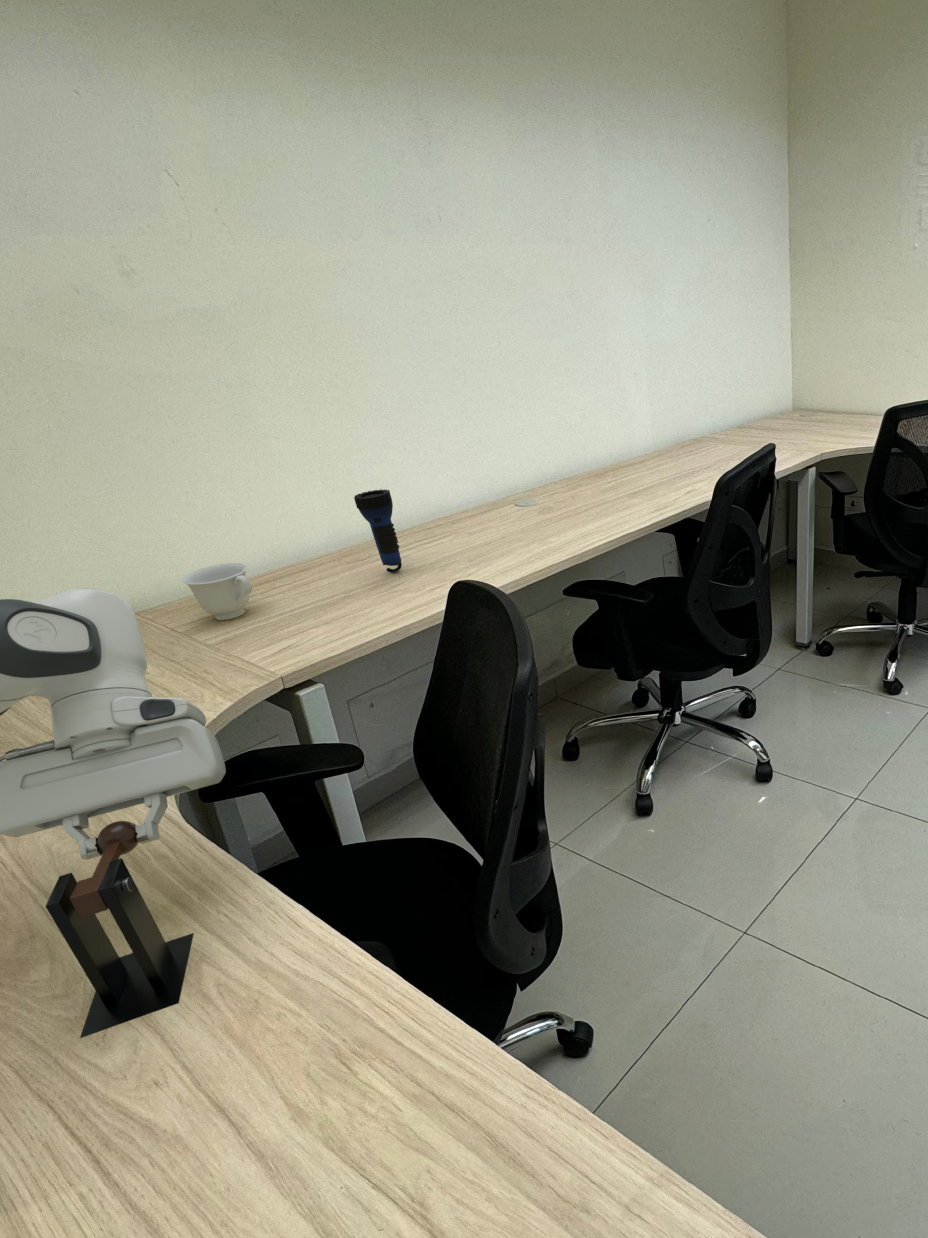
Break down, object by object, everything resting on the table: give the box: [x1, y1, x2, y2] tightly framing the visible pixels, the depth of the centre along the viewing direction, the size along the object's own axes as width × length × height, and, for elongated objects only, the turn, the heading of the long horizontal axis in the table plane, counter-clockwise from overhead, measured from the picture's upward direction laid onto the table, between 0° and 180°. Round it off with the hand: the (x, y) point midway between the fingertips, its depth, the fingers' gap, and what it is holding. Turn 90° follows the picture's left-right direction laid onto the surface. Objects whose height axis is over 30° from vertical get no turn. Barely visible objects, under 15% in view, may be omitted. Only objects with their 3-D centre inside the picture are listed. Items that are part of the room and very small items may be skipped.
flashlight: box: [353, 489, 403, 574], centre depth 183 cm, size 8×8×20 cm
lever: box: [70, 820, 140, 918], centre depth 77 cm, size 13×4×4 cm, turn 26°
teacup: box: [181, 562, 253, 621], centre depth 165 cm, size 12×15×10 cm
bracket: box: [45, 857, 195, 1039], centre depth 75 cm, size 10×8×15 cm
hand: (121, 848), depth 81 cm, fingers closed on lever, 3 cm apart
